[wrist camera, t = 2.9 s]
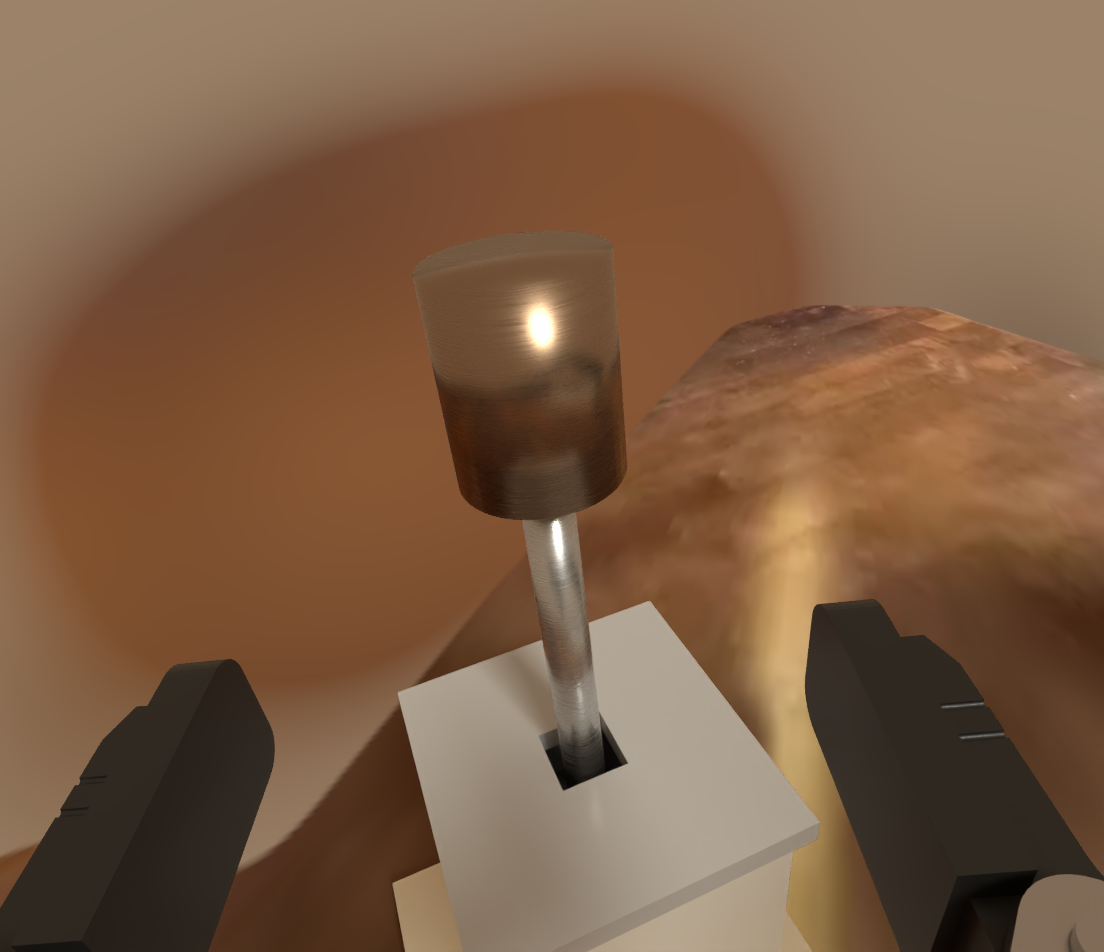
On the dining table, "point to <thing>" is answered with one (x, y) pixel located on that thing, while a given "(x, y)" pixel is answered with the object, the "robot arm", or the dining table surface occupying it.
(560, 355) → the plunger
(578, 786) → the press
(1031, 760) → the dining table surface
